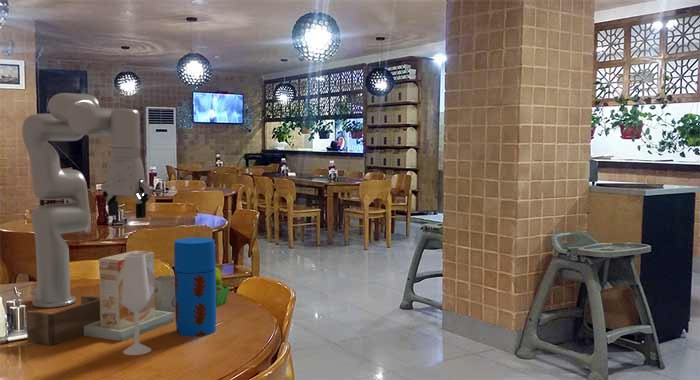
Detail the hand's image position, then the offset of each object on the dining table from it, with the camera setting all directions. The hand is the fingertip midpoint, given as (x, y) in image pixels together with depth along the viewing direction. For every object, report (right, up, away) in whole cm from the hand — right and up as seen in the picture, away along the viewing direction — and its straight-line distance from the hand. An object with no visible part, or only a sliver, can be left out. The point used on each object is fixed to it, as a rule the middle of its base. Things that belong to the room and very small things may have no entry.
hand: (126, 216), depth 184 cm
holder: (-15, -31, -3) cm, 35 cm away
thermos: (+19, -32, -1) cm, 37 cm away
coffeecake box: (0, -30, +2) cm, 30 cm away
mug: (+3, -30, +22) cm, 37 cm away
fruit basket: (+17, -29, +31) cm, 46 cm away
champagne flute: (+8, -33, -18) cm, 38 cm away
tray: (0, -31, +2) cm, 31 cm away
